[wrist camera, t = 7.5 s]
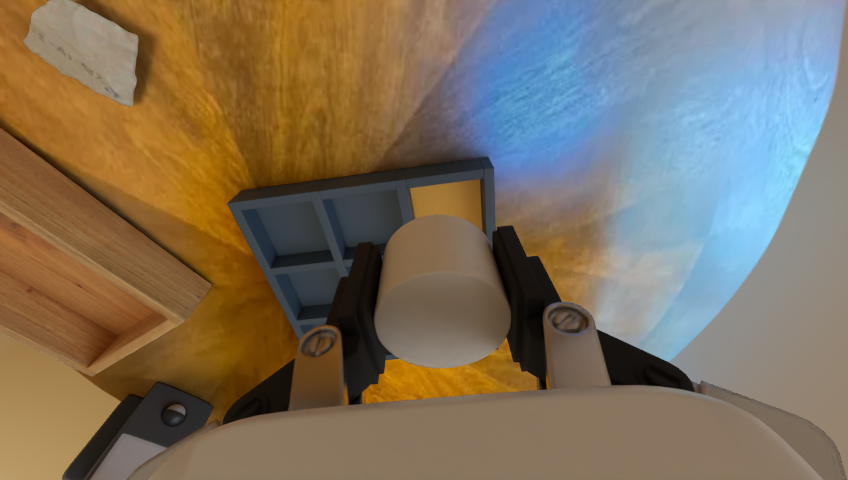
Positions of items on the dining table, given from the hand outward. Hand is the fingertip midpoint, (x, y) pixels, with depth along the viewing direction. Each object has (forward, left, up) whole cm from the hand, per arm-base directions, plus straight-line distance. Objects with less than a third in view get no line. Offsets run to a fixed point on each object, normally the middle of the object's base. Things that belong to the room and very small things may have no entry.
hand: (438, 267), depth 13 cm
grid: (+6, +12, -16) cm, 21 cm away
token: (0, 0, 0) cm, 0 cm away
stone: (+21, -10, -16) cm, 28 cm away
